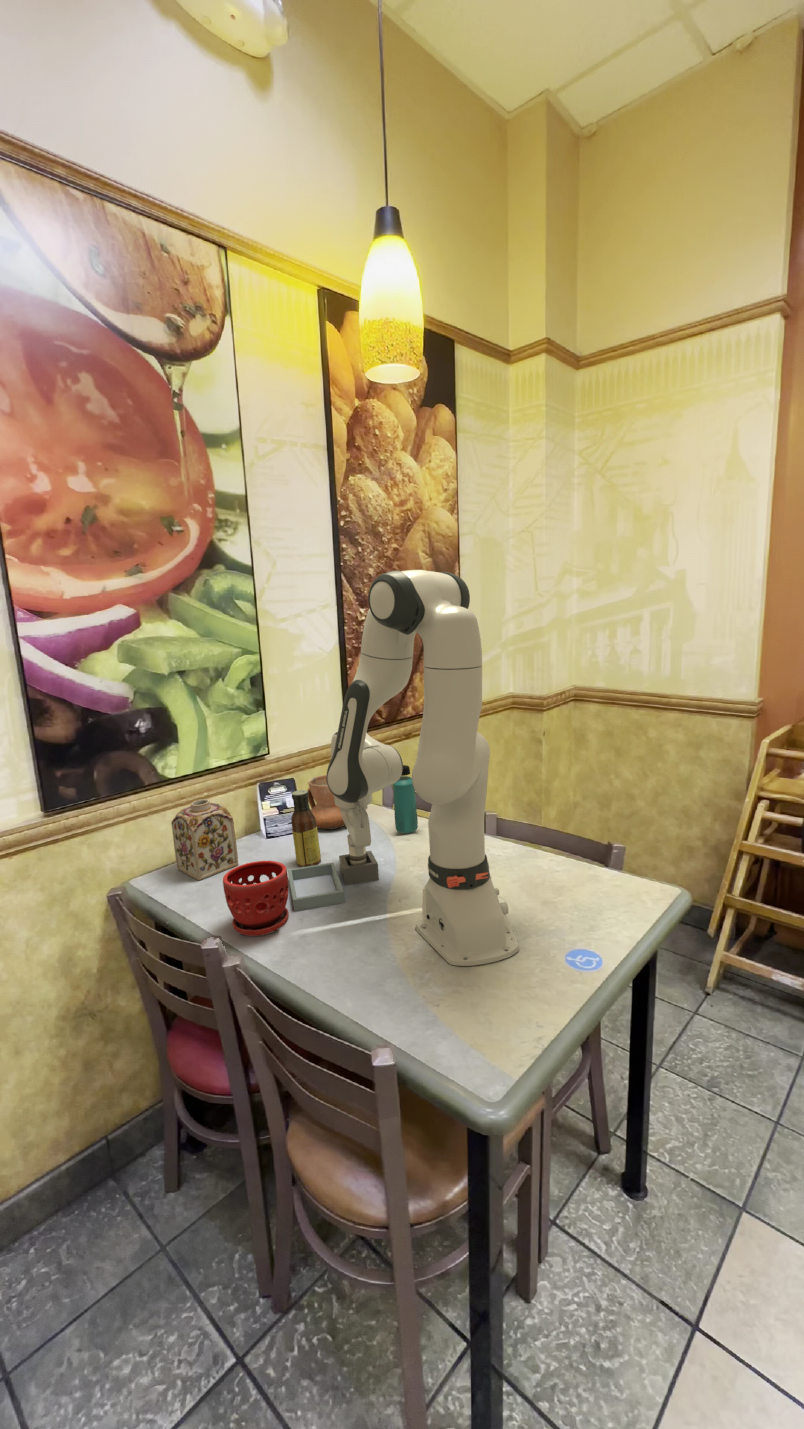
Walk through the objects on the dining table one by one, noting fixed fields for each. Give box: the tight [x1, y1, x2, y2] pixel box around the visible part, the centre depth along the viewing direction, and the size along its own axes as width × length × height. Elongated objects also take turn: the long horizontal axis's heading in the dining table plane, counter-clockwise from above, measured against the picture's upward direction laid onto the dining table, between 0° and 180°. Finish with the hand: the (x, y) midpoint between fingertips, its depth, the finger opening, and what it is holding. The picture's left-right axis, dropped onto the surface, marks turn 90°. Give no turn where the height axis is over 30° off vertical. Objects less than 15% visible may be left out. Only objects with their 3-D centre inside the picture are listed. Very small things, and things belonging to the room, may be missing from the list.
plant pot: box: [222, 860, 290, 937], centre depth 127 cm, size 13×13×12 cm
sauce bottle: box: [290, 789, 322, 868], centre depth 154 cm, size 6×6×20 cm
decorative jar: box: [170, 798, 239, 881], centre depth 157 cm, size 12×12×18 cm
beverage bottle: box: [392, 764, 419, 834], centre depth 171 cm, size 6×7×20 cm
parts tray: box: [287, 862, 346, 912], centre depth 140 cm, size 16×11×4 cm
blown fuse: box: [347, 833, 367, 866], centre depth 145 cm, size 4×4×10 cm
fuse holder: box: [338, 850, 380, 886], centre depth 146 cm, size 8×8×5 cm
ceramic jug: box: [306, 774, 346, 830], centre depth 183 cm, size 18×14×14 cm
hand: (357, 850), depth 145 cm, fingers closed on blown fuse, 4 cm apart
